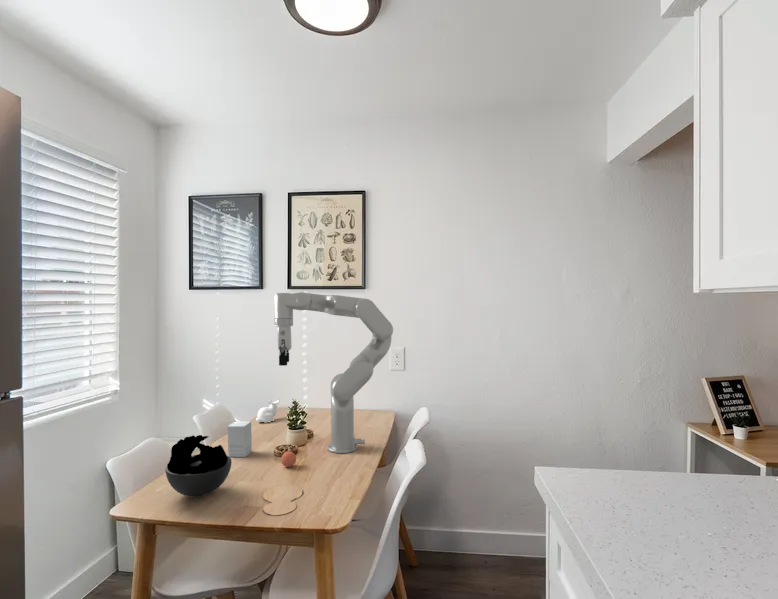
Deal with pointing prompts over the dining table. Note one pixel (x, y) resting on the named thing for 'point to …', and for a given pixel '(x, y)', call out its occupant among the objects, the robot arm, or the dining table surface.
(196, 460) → the coal bowl
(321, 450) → the dining table surface
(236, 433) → the supplement box
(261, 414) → the rabbit
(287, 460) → the ball
